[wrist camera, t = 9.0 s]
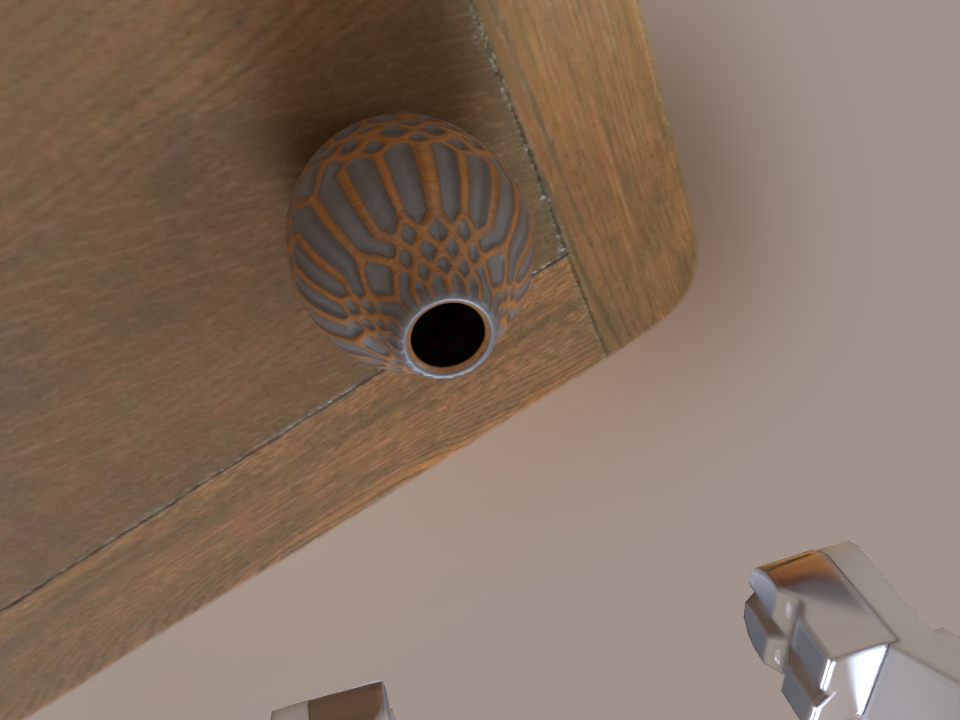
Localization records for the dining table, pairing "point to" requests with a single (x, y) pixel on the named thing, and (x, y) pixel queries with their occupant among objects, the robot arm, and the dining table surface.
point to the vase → (409, 244)
